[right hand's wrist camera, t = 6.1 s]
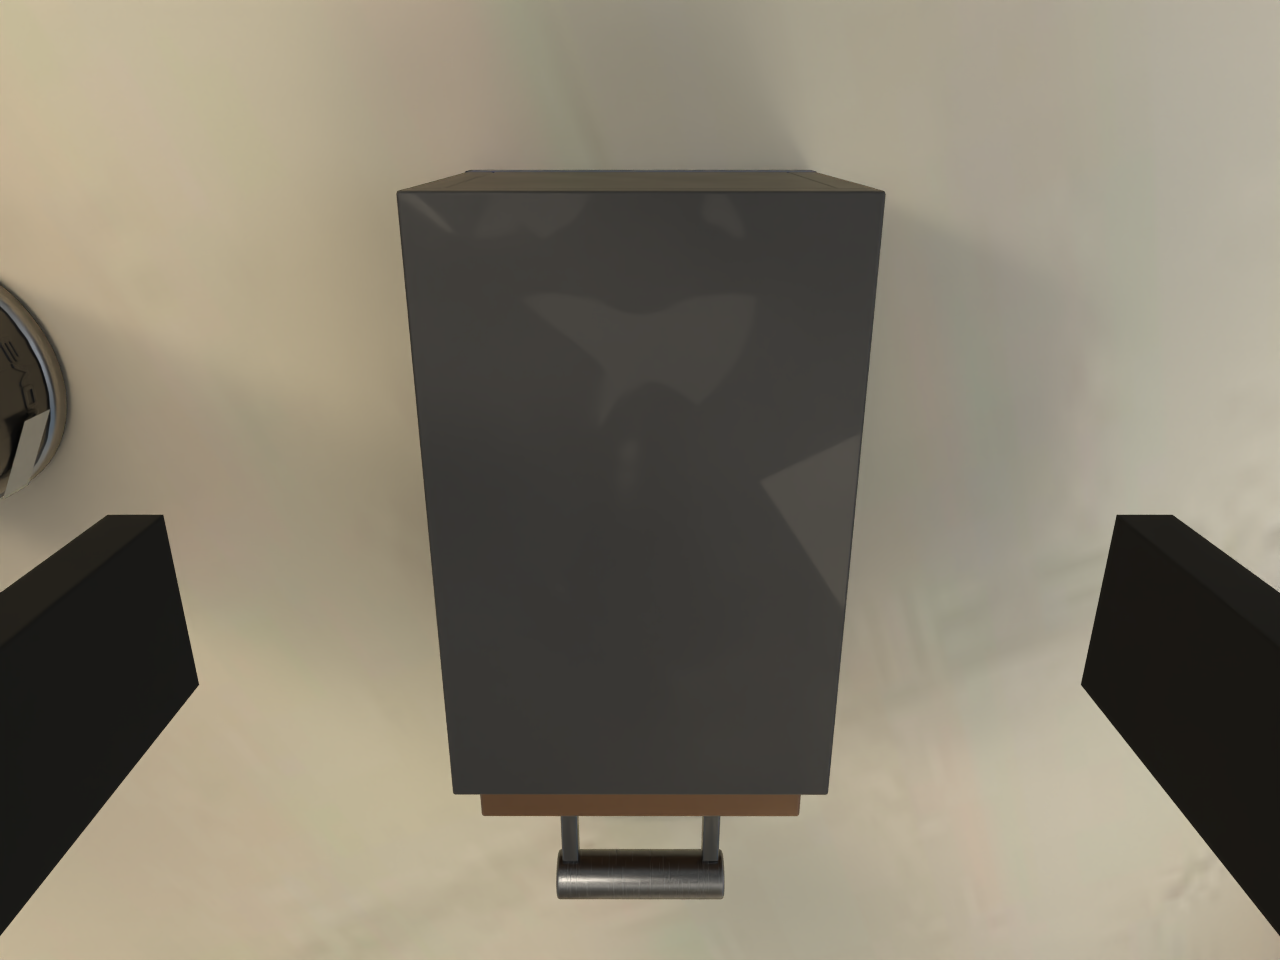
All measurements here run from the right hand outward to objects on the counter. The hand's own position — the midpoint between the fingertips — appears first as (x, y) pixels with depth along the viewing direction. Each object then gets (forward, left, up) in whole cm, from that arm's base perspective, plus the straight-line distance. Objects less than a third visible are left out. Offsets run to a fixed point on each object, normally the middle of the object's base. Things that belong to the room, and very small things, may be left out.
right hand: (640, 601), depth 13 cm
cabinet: (+2, -3, -21) cm, 21 cm away
